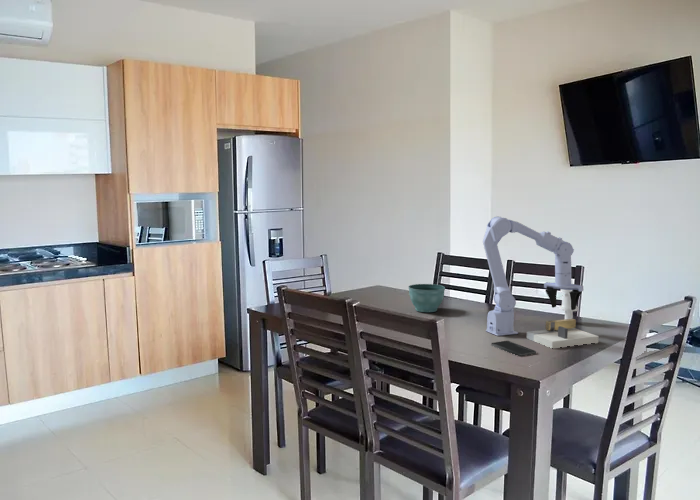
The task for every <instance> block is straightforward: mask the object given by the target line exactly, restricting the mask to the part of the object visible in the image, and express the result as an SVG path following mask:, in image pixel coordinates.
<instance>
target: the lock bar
mask: <svg viewBox="0 0 700 500" xmlns="http://www.w3.org/2000/svg"><path fill="white" fill-rule="evenodd" d="M576 322H577V320H576V319H574V318H573V319H565V318H564V319H557V320H546V321H545V330H548V331H555V330H558V327H559V326H561V327H564V328H567V329H568V328H575V329H577V328H576V324H577V323H576Z"/></svg>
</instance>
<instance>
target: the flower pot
mask: <svg viewBox="0 0 700 500" xmlns="http://www.w3.org/2000/svg"><path fill="white" fill-rule="evenodd" d="M445 291H446V287H445V286H443V285H440V284H433V283H415V284H411V285H408V294H409V298H410V302H411V303H412V305H413V306H414V308H415V311H417V312H419V313H435V312H437V311H438V308H439V307H440V305H441V304H442V302H443V300H444V297H445Z"/></svg>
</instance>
